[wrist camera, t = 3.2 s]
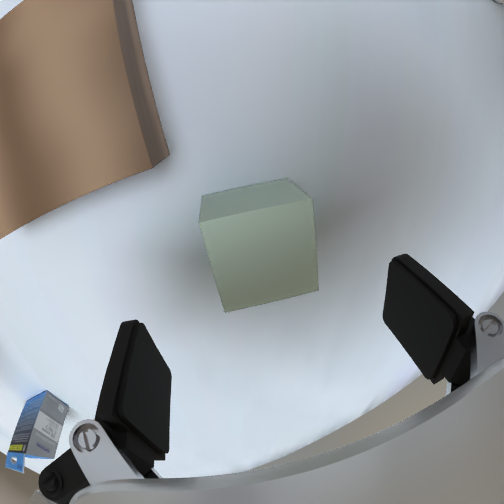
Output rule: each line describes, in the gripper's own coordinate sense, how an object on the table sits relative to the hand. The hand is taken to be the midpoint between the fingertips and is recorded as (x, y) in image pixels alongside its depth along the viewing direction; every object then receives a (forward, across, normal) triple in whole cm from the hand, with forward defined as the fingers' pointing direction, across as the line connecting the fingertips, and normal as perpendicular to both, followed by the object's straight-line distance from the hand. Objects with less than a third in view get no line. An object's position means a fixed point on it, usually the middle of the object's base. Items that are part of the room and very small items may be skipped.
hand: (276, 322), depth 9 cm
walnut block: (+8, +10, -12) cm, 17 cm away
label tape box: (+9, +30, +16) cm, 36 cm away
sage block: (+8, 0, 0) cm, 8 cm away
